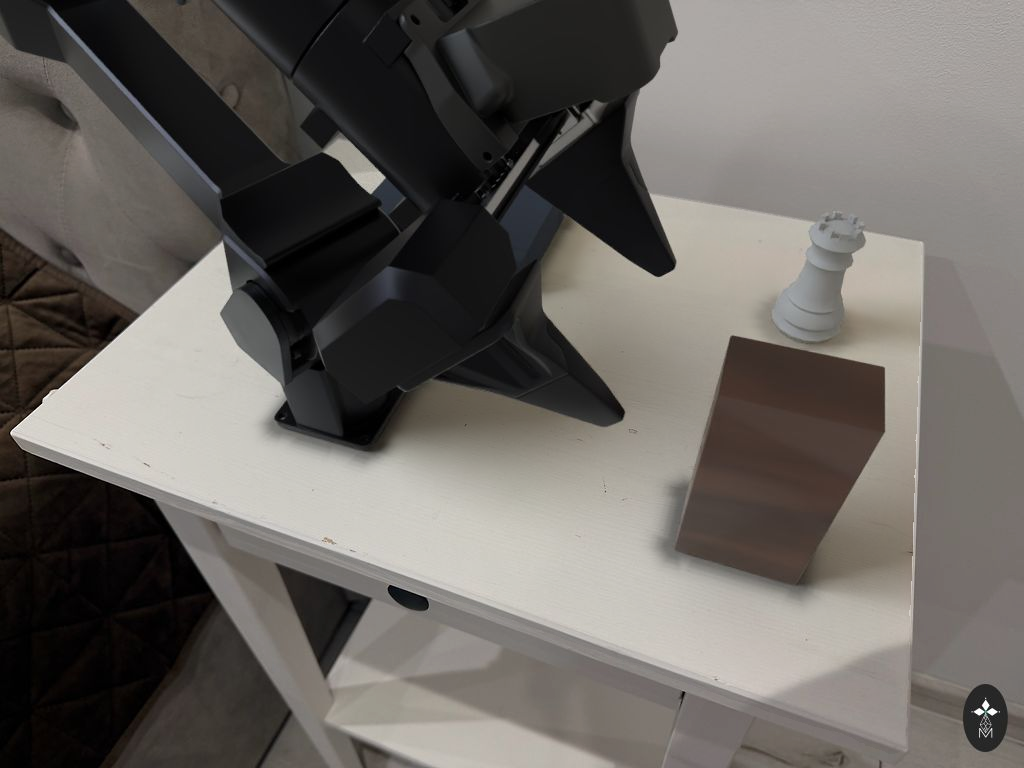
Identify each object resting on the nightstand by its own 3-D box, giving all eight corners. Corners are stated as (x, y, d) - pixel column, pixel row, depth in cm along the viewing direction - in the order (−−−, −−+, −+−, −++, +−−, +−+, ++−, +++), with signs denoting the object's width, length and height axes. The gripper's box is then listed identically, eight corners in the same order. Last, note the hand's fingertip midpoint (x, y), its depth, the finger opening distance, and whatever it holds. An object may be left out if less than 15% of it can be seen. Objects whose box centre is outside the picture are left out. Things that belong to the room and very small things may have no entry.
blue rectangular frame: (523, 295, 50) (522, 261, 47) (350, 258, 53) (342, 225, 51) (563, 218, 56) (564, 185, 54) (407, 190, 59) (402, 158, 57)
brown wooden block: (796, 586, 34) (886, 431, 25) (673, 550, 35) (718, 393, 27) (801, 527, 36) (885, 366, 27) (685, 496, 38) (730, 334, 29)
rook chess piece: (853, 333, 46) (899, 231, 40) (800, 355, 45) (840, 253, 39) (806, 294, 49) (843, 194, 43) (755, 314, 47) (786, 213, 42)
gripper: (306, -109, 11) (817, 472, 17) (607, -246, 23) (849, 119, 28) (130, 218, 19) (515, 543, 24) (422, -9, 31) (639, 243, 36)
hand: (644, 338), depth 28 cm, fingers open, 9 cm apart
